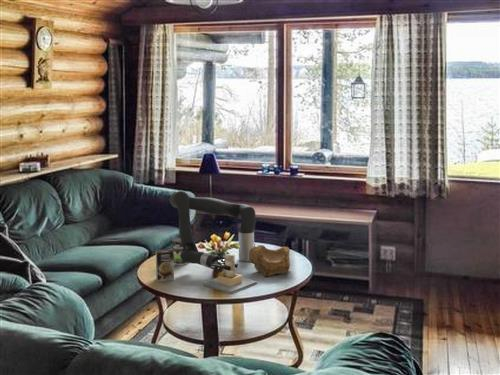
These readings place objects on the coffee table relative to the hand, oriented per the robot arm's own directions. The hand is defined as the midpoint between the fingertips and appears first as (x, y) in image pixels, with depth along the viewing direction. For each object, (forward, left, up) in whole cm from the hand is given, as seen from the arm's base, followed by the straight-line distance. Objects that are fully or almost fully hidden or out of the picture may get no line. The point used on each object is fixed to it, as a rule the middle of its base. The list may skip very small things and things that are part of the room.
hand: (233, 267), depth 291 cm
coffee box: (+17, -35, -10) cm, 40 cm away
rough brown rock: (-27, +2, -10) cm, 29 cm away
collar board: (0, -3, -10) cm, 10 cm away
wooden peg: (0, -3, -8) cm, 8 cm away
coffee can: (-9, -51, -10) cm, 52 cm away
